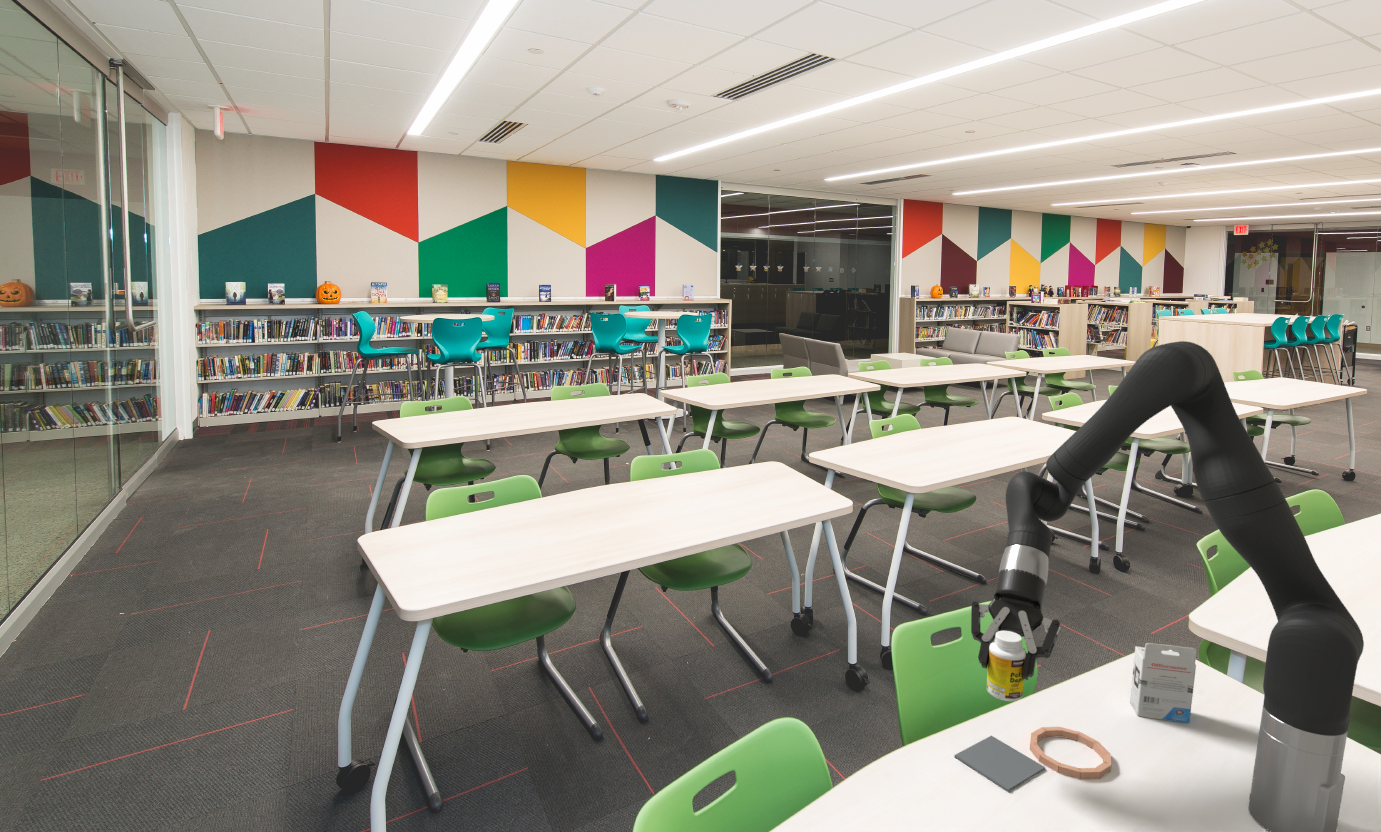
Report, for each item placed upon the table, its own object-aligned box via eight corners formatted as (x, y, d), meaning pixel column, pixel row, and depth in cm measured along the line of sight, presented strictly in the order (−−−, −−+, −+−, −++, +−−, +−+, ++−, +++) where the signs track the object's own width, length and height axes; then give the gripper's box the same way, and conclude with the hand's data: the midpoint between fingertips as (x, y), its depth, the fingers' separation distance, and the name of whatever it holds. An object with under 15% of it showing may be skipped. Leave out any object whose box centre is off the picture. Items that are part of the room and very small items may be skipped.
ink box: (1180, 709, 131) (1188, 636, 129) (1190, 724, 127) (1199, 649, 124) (1128, 702, 134) (1136, 630, 131) (1136, 716, 129) (1144, 642, 127)
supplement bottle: (1009, 707, 111) (1014, 647, 109) (979, 690, 116) (982, 633, 114) (1030, 696, 114) (1034, 638, 112) (999, 680, 119) (1003, 624, 117)
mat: (1045, 769, 115) (1045, 767, 115) (1007, 791, 110) (1008, 789, 110) (991, 737, 123) (991, 735, 123) (954, 757, 118) (954, 754, 118)
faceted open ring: (1124, 761, 117) (1125, 755, 116) (1084, 788, 110) (1085, 781, 110) (1055, 725, 127) (1056, 719, 126) (1015, 747, 120) (1015, 741, 120)
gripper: (975, 559, 122) (955, 651, 114) (1068, 577, 114) (1053, 677, 106) (980, 578, 127) (960, 667, 119) (1069, 596, 119) (1054, 693, 111)
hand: (1004, 671), depth 113 cm, fingers closed on supplement bottle, 5 cm apart
